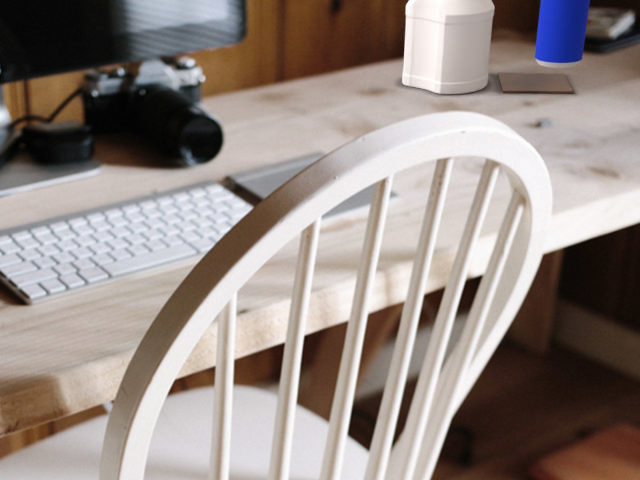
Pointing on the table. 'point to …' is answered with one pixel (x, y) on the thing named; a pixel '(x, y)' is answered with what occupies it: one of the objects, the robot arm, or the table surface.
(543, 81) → the coaster
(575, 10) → the beverage can
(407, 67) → the jar
